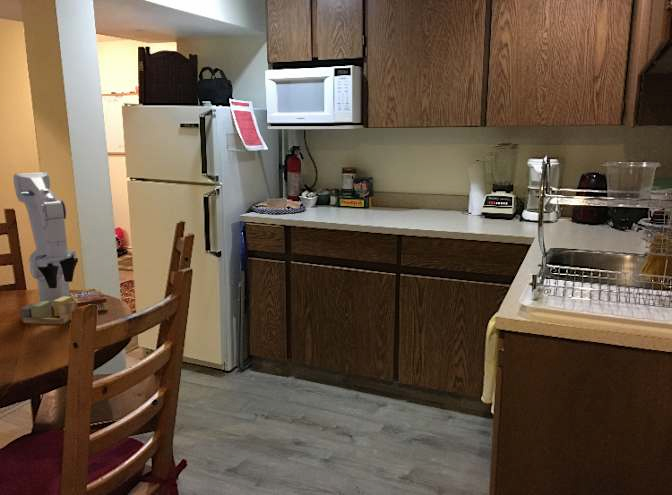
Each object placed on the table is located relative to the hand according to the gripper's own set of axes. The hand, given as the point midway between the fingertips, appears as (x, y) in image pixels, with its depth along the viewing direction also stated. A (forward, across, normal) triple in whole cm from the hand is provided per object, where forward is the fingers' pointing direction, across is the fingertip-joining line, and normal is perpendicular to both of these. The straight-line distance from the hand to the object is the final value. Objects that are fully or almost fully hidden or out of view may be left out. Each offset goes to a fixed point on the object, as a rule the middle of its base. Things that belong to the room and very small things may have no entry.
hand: (61, 284), depth 177 cm
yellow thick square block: (+10, 0, 0) cm, 10 cm away
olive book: (+10, -5, +4) cm, 12 cm away
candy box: (+7, +3, -8) cm, 11 cm away
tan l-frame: (+9, -5, +1) cm, 11 cm away
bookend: (+10, -5, +7) cm, 13 cm away
